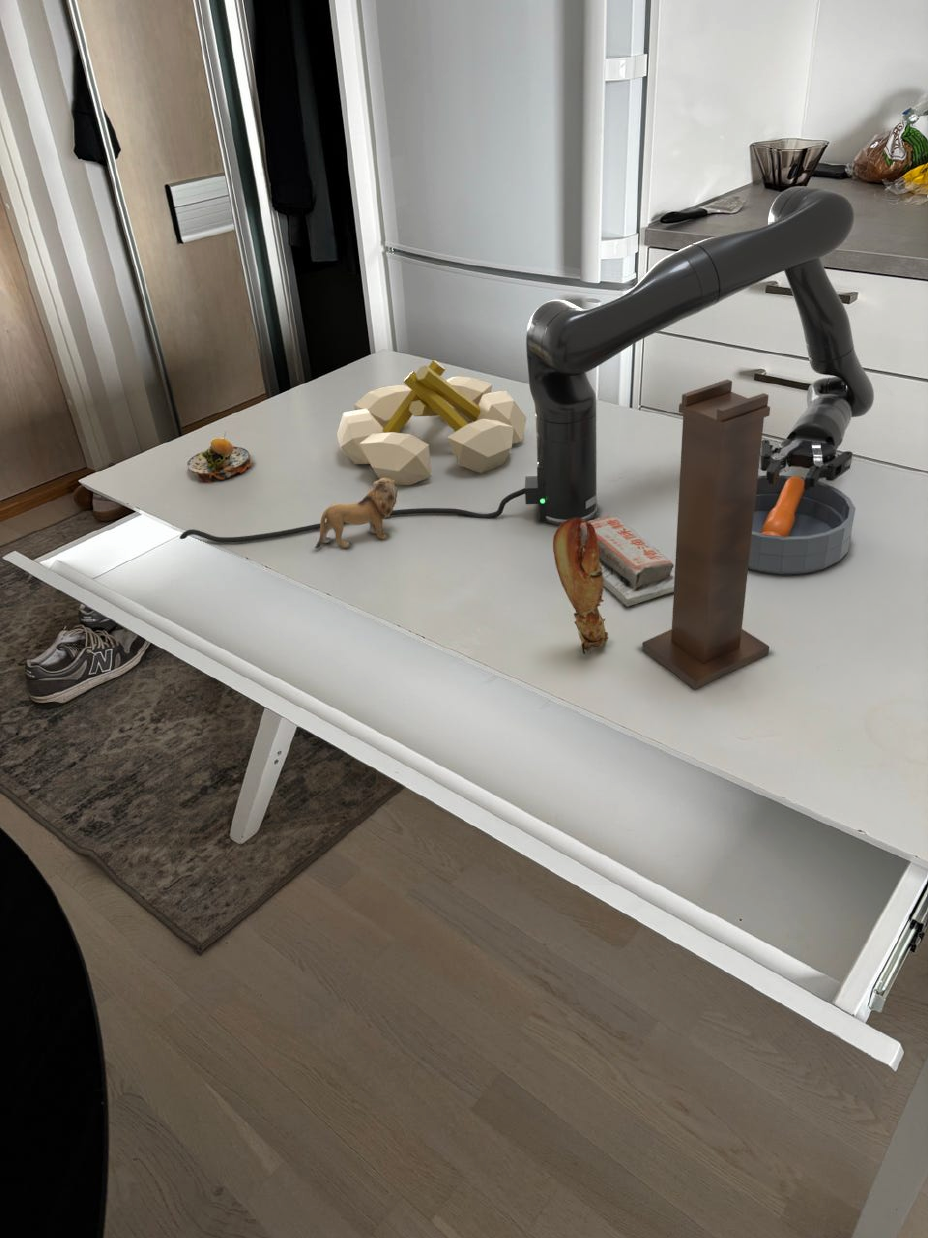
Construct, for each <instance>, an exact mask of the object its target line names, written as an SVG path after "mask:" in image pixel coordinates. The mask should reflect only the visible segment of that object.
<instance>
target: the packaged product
mask: <svg viewBox="0 0 928 1238" xmlns="http://www.w3.org/2000/svg"><path fill="white" fill-rule="evenodd" d="M588 522H589V523H591V524H592V526H593V527H594V529H595V532H596V535H597V540H598V550H599V563H600V566H601V567H602V573H603V587H605V588H606V589H607V590H609V592H610V593H611V594H613V595H614V596H615V597H616V598H617V599H618V600H619V601H620V602H621V603H622V604H624V605H625V606H626V607H627V608H629V607H631V606H635V605H638V604H639V603H643V602H646V601H648V600H651V599H654V598H658V597H660V596H664V595H667V594H670V593H674V578H675V569H673V568H675V563H673V562H672V561H671V560H670V559H668V558H667V556H665V555H664V554H662V552H660V551H659V550H658V549H657V548H655V547H654V546H653V545H652V544H651V543H649V542H648V541H646V540H645V538H643V537H642V536H641V535H640V534H638V533H637V532H636V531H635V530H633V529H632V528H631V527H630V526H628V525H627V524H626V523H625V522H624V521H623V520H622V519H620V518H619V517H617V516H613V515H605V516H601V517H599V518H595V519H591V520H589V521H588ZM580 528H581V529H582V535H581V541H582V542H583V543H584V547H583V548H584V549H586V543H585V540H586V538H587V527H586V524H585V523H581V526H580Z"/></svg>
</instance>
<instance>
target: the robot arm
mask: <svg viewBox="0 0 928 1238" xmlns="http://www.w3.org/2000/svg"><path fill="white" fill-rule="evenodd" d="M855 216H856V215H855V210H854V207H853V205H852V203H851V201H850V200H849V199H848V198H847V197H845V196H844V195H842V194H841V193H838V192H836V191H834V190H831V189H824V188H823V189H822V188H818V187H817V188H816V187H812V186H804V185H802V186H800V185H797V186H791V187H788V188H787V189H784V190H783V191H782V192H781V193H779V195H778V196H777V197H776V198H775V200H774V201H773V203H772V205H771V207H770V210H769V213H768V219H767V224H766V225H764V226H761V227H757V228H752V229H747V230H743V231H737V232H731V233H727V234H726V233H725V234H722V235H717V236H713V237H709V238H706V239H703V240H700V241H697V242H694V243H692V244H690V245H688V246H686V247H683V248H681V249H680V250H678V251H675V252H673V253H670V254H669V255H667V256H666V257H664V258H662V259H660V260H659V261H657V262H656V263H655V264H654V265H653V266H651V268H650V269H649V270H648V271H647V272H646V273H645V275H644V276H643V277H642V278H641V279H640V280H639V282H638V283H637V284H635V286H633V288H631V289H630V290H629V291H627V292H626V293H624V294H623V295H620V296H619V297H617V298H614V299H612V300H610V301H608V302H605V303H603V304H601V305H598V306H594V307H592V308H587V309H584V308H581V307H580V306H577V305H576V304H574V303H572V302H570V301H567V300H563V299H552V300H549V301H546V302H544V303H542V304H541V305H539V307H537V308H536V309H535V311H534V312H533V313H532V315H531V316H530V319H529V321H528V324H527V329H526V337H525V347H526V361H527V362H526V363H527V374H528V385H529V391H530V395H531V397H532V400H533V403H534V412H535V413H534V414H535V434H536V459H537V461H536V475H531V476H530V475H527V476H525V478H524V479H525V480H524V487H523V488H521V489H519V490H515V491H513V492H511V493H510V494H508V495H507V496H505V497H504V498H502V500H500V503H499V505H498V508H497V509H496V511H493V512H491V513H478V512H474V511H470V510H466V509H461V508H452V507H450V508H449V507H446V508H445V507H418V508H416V507H415V508H403V509H401V508H400V509H393V510H392V513H391V514H390V516H389V517H392V516H393V517H394V516H403V515H404V516H405V515H420V514H443V515H445V514H447V515H459V516H464V517H469V518H473V519H474V518H475V519H490V520H491V519H495V518H497V517H499V516H501V515H502V514H503V512H504V509H505V507H506V505H507V504H508V503H509V502H511V501H512V500H514V499H516V498H519V497H521V496H524V499H525V500H524V501H525V502H524V504H525V505H538V522H540V523H543V522H545V523H549V524H552V525H556V526H560V525H561V524H562V523H563V522H564V521H566V520H568V519H570V518H573V517H579V518H582V519H584V520H586V521H590V520H593V519H594V518H595V517H596V516H597V513H598V497H597V496H598V495H597V491H598V489H597V488H598V485H597V477H598V476H597V475H598V474H597V469H598V468H597V467H598V466H597V465H598V464H597V461H598V460H597V395H596V392H595V389H594V388H593V386H592V384H591V383H590V380H589V379H588V376H587V373H588V372H590V371H592V370H594V369H595V368H597V367H600V366H601V365H602V364H604V363H605V362H607V361H609V360H611V359H612V358H613V357H615V356H617V355H618V354H620V353H621V352H623V351H624V350H626V349H628V348H630V347H631V346H633V345H634V344H636V343H638V342H640V341H641V340H643V339H645V338H647V337H649V336H652V335H653V334H656V333H658V332H660V331H662V330H664V329H666V328H668V327H670V326H672V325H674V324H677V323H678V322H680V321H682V320H684V319H687V318H690V317H692V316H694V315H696V314H698V313H700V312H703V311H705V310H707V309H709V308H711V307H712V306H715V305H717V304H719V303H720V302H722V301H724V300H726V299H728V298H730V297H732V296H734V295H736V294H738V293H740V292H742V291H744V290H746V289H748V288H751V287H753V286H756V285H757V284H759V283H760V282H763V281H765V280H766V279H769V278H770V277H773V276H775V275H777V274H779V273H782V272H784V275H785V278H786V280H787V283H788V286H789V288H790V291H791V293H792V296H793V299H794V302H795V305H796V308H797V311H798V314H799V318H800V322H801V326H802V331H803V335H804V341H805V344H806V351H807V356H808V361H809V365H810V367H811V369H812V370H813V372H814V373H817V374H819V375H823V376H824V375H825V376H832V377H823V378H819V379H817V380H815V381H813V382H811V383H810V385H809V387H808V388H807V392H806V405H807V408H806V410H805V411H804V412H803V413H801V415H800V417H799V418H798V419H797V420H796V422H795V424H794V425H793V427H792V428H791V430H790V431H789V433H788V434H787V436H786V438H785V440H783V441H780V443H779V444H773V443H771V441H770V440H768V439H762V442H761V451H760V461H759V469H760V470H761V471H763V472H766V473H765V476H766V480H769V484H774V483H775V481H776V480H777V478H778V476H779V475H781V473H782V472H785V473H787V472H789V471H790V470H792V469H793V468H804V469H808V471H807V473H806V475H805V476H804V478H805V484H804V489H807V490H809V489H810V487H815V486H816V484H817V483H818V481H821V480H822V479H825V480H826V481H829V482H833V481H835V480H836V479H837V478H839V477H840V476H842V475H843V474H844V473H846V472H847V471H848V470H850V469H851V465H852V461H853V453H854V452H852V451H850V450H846V451H843V452H842V453H840V452H839V453H837V450H838V448H839V447H840V446H841V444H842V442H843V439H844V436H845V433H846V430H847V428H848V426H849V425H850V423H851V420H852V418H858V417H862V416H864V415H866V414H868V412H869V411H870V410H871V409H872V406H873V404H874V400H875V392H874V387H873V384H872V382H871V379H870V378H869V376H868V373H866V370H864V367H863V365H862V363H861V362H860V360H859V357H858V355H857V353H856V350H855V345H854V339H853V333H852V327H851V322H850V318H849V315H848V312H847V310H846V308H845V306H844V303H843V301H842V299H841V298H840V295H839V294H838V292H837V290H836V289H835V287H834V286H833V284H832V282H831V280H830V278H829V276H828V274H827V271H826V269H825V267H824V264H823V261H822V258H824V257H826V256H828V255H830V254H832V253H833V252H835V251H836V250H838V248H840V246H842V244H843V243H844V242H845V241H846V240H847V238H848V237H849V235H850V233H851V232H852V229H853V227H854V224H855ZM772 456H773V457H772ZM582 523H585V521H583V522H582ZM325 524H326V521H325ZM325 524H324V526H325ZM344 524H346V523H345V522H344ZM316 530H320V522H319V523H315V524H314V523H313V524H309V525H304V526H300V527H299V526H298V527H295V528H290V529H284V530H278V531H272V532H265V533H258V534H252V535H251V534H250V535H242V536H230V537H229V536H216V535H212V534H209V533H207V532H204V531H202V530H199V529H193V528H192V529H191V528H190V529H187V530H185V531H184V532H182V534H180V536H179V539H180V540H185V539H187V538H188V537H189V536H192V535H193V536H198V537H201V538H203V539H206V540H208V541H211V542H215V543H223V544H226V543H227V544H228V543H229V544H232V543H244V542H245V543H246V542H252V541H253V542H254V541H261V540H267V539H274V538H281V537H285V536H290V535H291V536H292V535H296V534H301V533H305V532H310V531H311V532H312V531H316Z"/></svg>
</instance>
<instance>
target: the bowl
mask: <svg viewBox="0 0 928 1238" xmlns="http://www.w3.org/2000/svg"><path fill="white" fill-rule="evenodd" d="M791 477H795V476H794V475H793V476H792V475H783V474H780V475H779V476H778V478H777V480H776V481H775V483H774V484H769V480H766V475H758V480H757V489H756V499H755V508H754V518H753V527H752V537H751V546H750V556H749V565H748V570H751V571H755V572H758V573H759V572H760V573H765V574H771V575H802V574H809V573H814V572H818V571H821V570H824V569H826V568H828V567H829V568H830V567H831V566H832V565H834V564H836V563H838V562H839V561H841V559H843V557H844V556H845V555H846V554H847V553H848V552H849V548H850V543H851V537H852V532H853V526H854V519H855V514H856V507H855V505H854V504H853V501H852V499H851V498H850V497H849V496H848V495H846V494H845V493H844V492H842V491H841V490H840V489H839V488H837V487H834V486H833V485H829V484H827V483H825V482H823V481H821V480H819V481H818V483H817V484H816V486H815V487H810V489H809V490H807V489H805V490H804V493H803V495H802V498H801V500H800V502H799V505H798V507H797V510H796V512H795V514H794V515H795V521H794V524H793V526H792V529H791V531H790V534H789V536H788V537H782V536H774V535H766V534H761V533H760V532H761V530H762V528H763V526H764V523H765V521H766V519H767V517H768V514H769V512H770V511H771V510H772V509H773V508H775V505H776V503H777V501H778V499H779V496H780V494H781V492H782V489H783V487H784V485H785V483H786V481H787V480H788V479H789V478H791ZM799 477H800V478H801V479H803V480H804V482H805V477H803V476H799Z"/></svg>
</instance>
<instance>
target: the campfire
mask: <svg viewBox="0 0 928 1238" xmlns="http://www.w3.org/2000/svg"><path fill="white" fill-rule="evenodd" d="M445 371H446V368H445V367H444V366H443V365H442V364H441V363H439V362H438V361H437V360H436V359H433V360H432V361H431V362H430V364H429V365H422V366H420V367H419V368H418V370H417V371H414V370H412V371H411V372H410V373H409V374H408V375H407V376H406V377H405V378H404V380H403V381H402V382H403V384H396V385H395V384H394V385H387V386H381V387H379V388H376V389H373V390H370V391H367V392H366V393H365V394H364V395H363V396H362V397H361V398H360V399H359V400H357V401H356V402H355V403H354V404H353V407H354V410H350V411H344V412H343V413H342V416H341V420H340V423H339V426H338V430H337V434H336V438H337V441H338V444H339V448H341V450H342V451H343V452H344V453H345V454H346V455H347V456H348V458H350V460H351V461H352V463H354V465H370V466H371V468H372V469H373V471H374V473H375V474H376V476H377V477H378V480H379V479H381V478H387V479H391V480H394V481H395V485H400V486H406V487H407V486H410V485H413V484H416V483H419V482H421V481H423V480H427V479H428V478H432V477H433V475H432V473H433V472H432V464H431V454H430V446H429V444H428V443H426V442H425V441H423V440H421V439H419V438H418V437H416V436H414V435H412V434H410V433H402V432H401V431H402V430H403V429H405V427H406V424H407V423H408V422H409V421H410V419H411V418H412V416H414V417H435V416H436V417H439V418H440V419H442V420H443V421H444V423H446V424H447V425H448V426H449V427H450V428H451V429H452V430H453V431H454V432H453V433H451V434H450V435H449V436H447V437H446V438H447V441H448V444H449V445H450V448H451V451H452V453H453V455H454V457H455V460H456V462H457V464H458V465H459V466H461V467H463V468H466V469H469V470H471V471H474V472H476V473H479V474H484V473H486V472H489V471H490V470H493V469H495V468H498V467H500V466H503V465H505V463H506V461H507V459H508V456H509V455H510V452H511V450H512V448H513V444H517V443H518V444H519V443H522V442H523V439H524V434H525V429H526V428H525V427H526V423H527V416H526V415H525V413H524V412H523V411H522V409H521V408H520V407H519V405H518V404H517V402H516V401H515V400H514V399H513V397H512V396H511V395H510V394H509V393H508V392H507V391H506V390H500V391H494V392H492V389H493V383H490V382H487V381H483V380H481V379H477V378H474V377H470V376H469V377H467V376H458V375H455V376H452V377H449V378H447V379H444V377H442V375H443V374H444V373H445ZM404 384H405V385H404Z"/></svg>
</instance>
